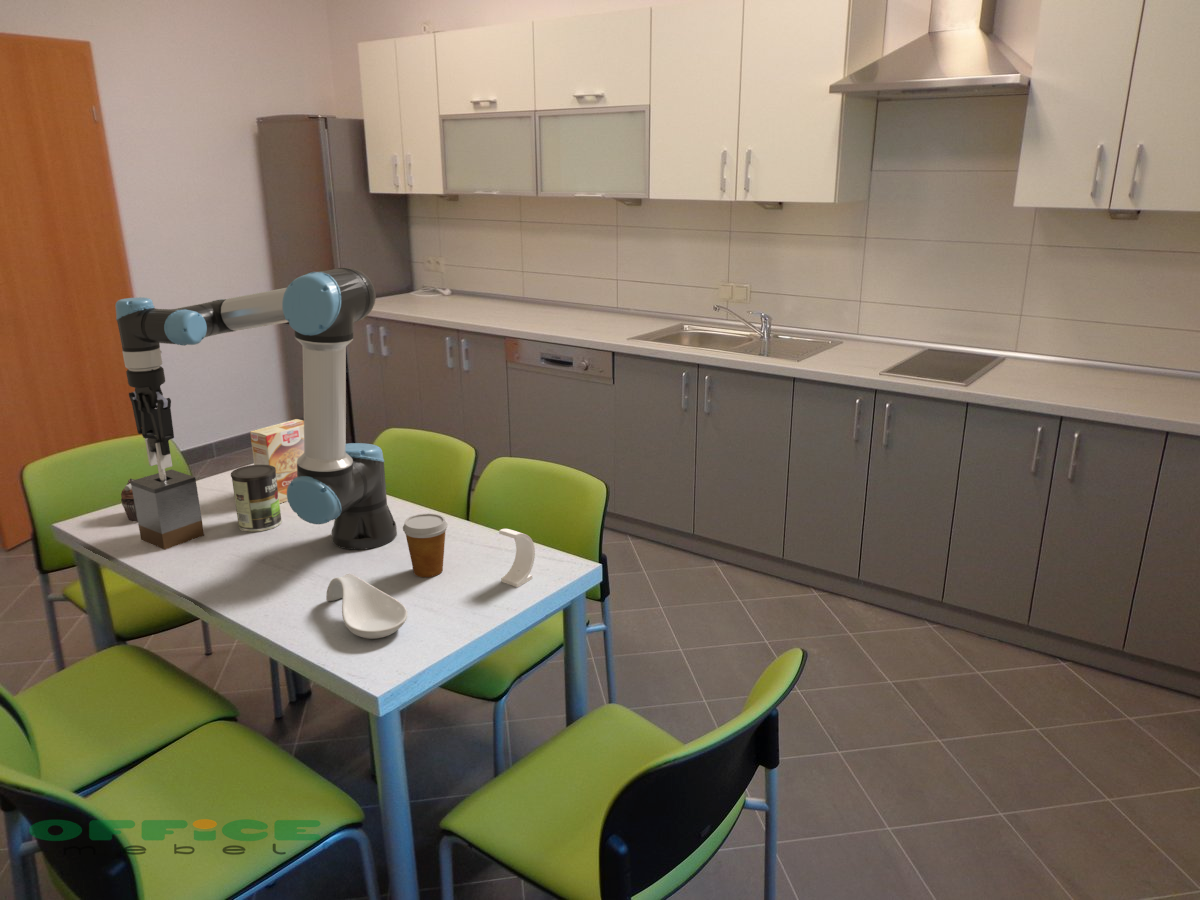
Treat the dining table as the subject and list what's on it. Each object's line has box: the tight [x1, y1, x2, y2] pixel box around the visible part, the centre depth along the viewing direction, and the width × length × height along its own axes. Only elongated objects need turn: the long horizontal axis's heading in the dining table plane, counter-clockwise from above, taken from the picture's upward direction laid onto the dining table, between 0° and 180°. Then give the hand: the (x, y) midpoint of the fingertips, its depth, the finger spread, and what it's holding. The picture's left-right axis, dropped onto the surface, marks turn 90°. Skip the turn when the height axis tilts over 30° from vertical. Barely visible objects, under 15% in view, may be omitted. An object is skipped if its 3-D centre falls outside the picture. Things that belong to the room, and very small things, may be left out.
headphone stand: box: [498, 528, 536, 588], centre depth 183 cm, size 5×6×12 cm
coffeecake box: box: [249, 418, 304, 505], centre depth 230 cm, size 15×7×20 cm, turn 147°
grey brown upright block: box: [131, 468, 205, 551], centre depth 203 cm, size 10×10×15 cm
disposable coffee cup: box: [402, 512, 449, 578], centre depth 187 cm, size 10×10×12 cm
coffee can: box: [230, 464, 283, 533], centre depth 212 cm, size 10×10×14 cm
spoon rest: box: [326, 573, 408, 640], centre depth 167 cm, size 24×12×7 cm, turn 42°
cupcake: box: [120, 476, 147, 523], centre depth 217 cm, size 10×10×10 cm
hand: (160, 465), depth 200 cm, fingers closed on plunger, 4 cm apart
